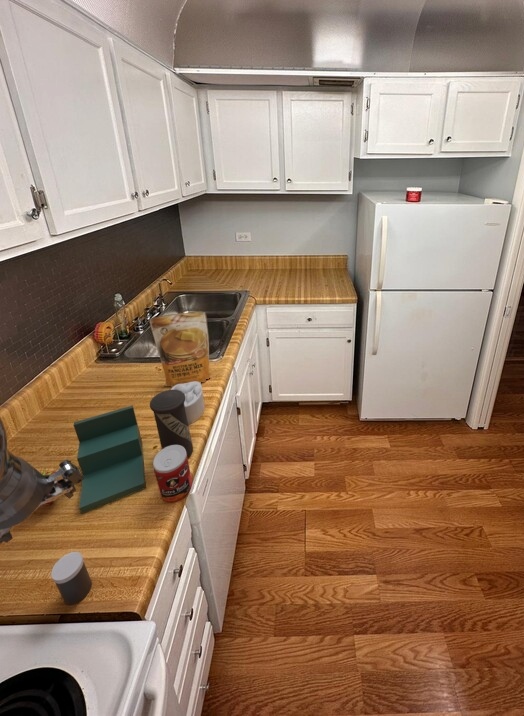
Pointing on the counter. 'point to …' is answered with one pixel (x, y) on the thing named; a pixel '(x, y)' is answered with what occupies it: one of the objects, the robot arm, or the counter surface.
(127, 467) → the spice shelf
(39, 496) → the robot arm
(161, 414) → the container
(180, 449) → the canned food
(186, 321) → the pancake mix bag
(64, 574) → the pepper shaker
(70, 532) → the counter surface
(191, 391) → the lumpy-topped squat cylinder
